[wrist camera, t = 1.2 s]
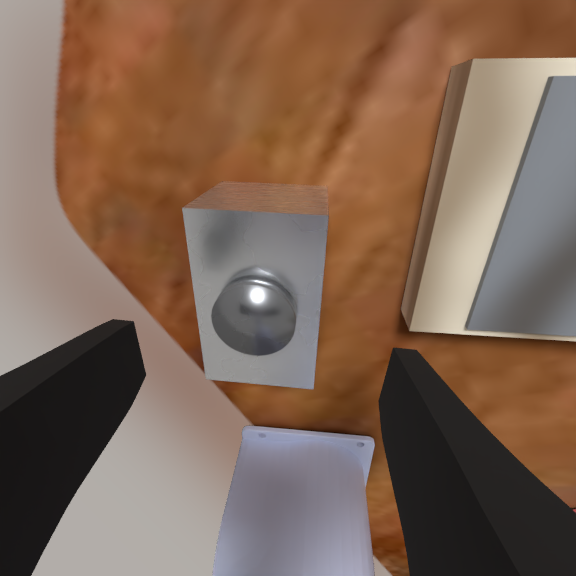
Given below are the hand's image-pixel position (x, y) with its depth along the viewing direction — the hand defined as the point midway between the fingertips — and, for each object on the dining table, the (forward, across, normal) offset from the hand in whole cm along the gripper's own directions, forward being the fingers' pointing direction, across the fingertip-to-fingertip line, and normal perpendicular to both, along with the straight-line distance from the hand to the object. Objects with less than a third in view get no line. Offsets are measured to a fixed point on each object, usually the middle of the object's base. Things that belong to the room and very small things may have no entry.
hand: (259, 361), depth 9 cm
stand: (+8, -12, -3) cm, 15 cm away
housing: (+9, +1, +1) cm, 9 cm away
